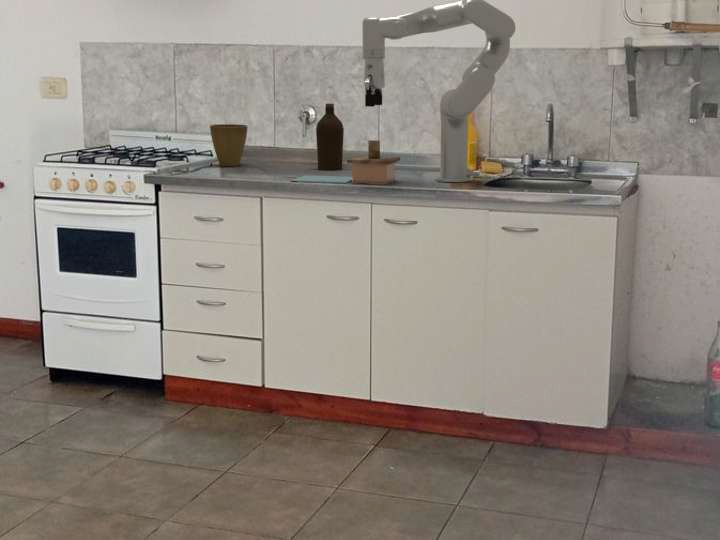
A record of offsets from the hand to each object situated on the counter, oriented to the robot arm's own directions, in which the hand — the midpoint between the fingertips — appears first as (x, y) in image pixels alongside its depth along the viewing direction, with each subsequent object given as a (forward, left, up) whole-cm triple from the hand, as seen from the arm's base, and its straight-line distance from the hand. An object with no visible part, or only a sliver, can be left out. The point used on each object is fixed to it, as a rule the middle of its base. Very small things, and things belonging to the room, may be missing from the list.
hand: (373, 105), depth 361 cm
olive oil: (+27, -36, -26) cm, 52 cm away
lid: (0, 0, -19) cm, 19 cm away
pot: (0, 0, -26) cm, 26 cm away
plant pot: (+69, -37, -26) cm, 83 cm away
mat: (+18, 0, -26) cm, 32 cm away
